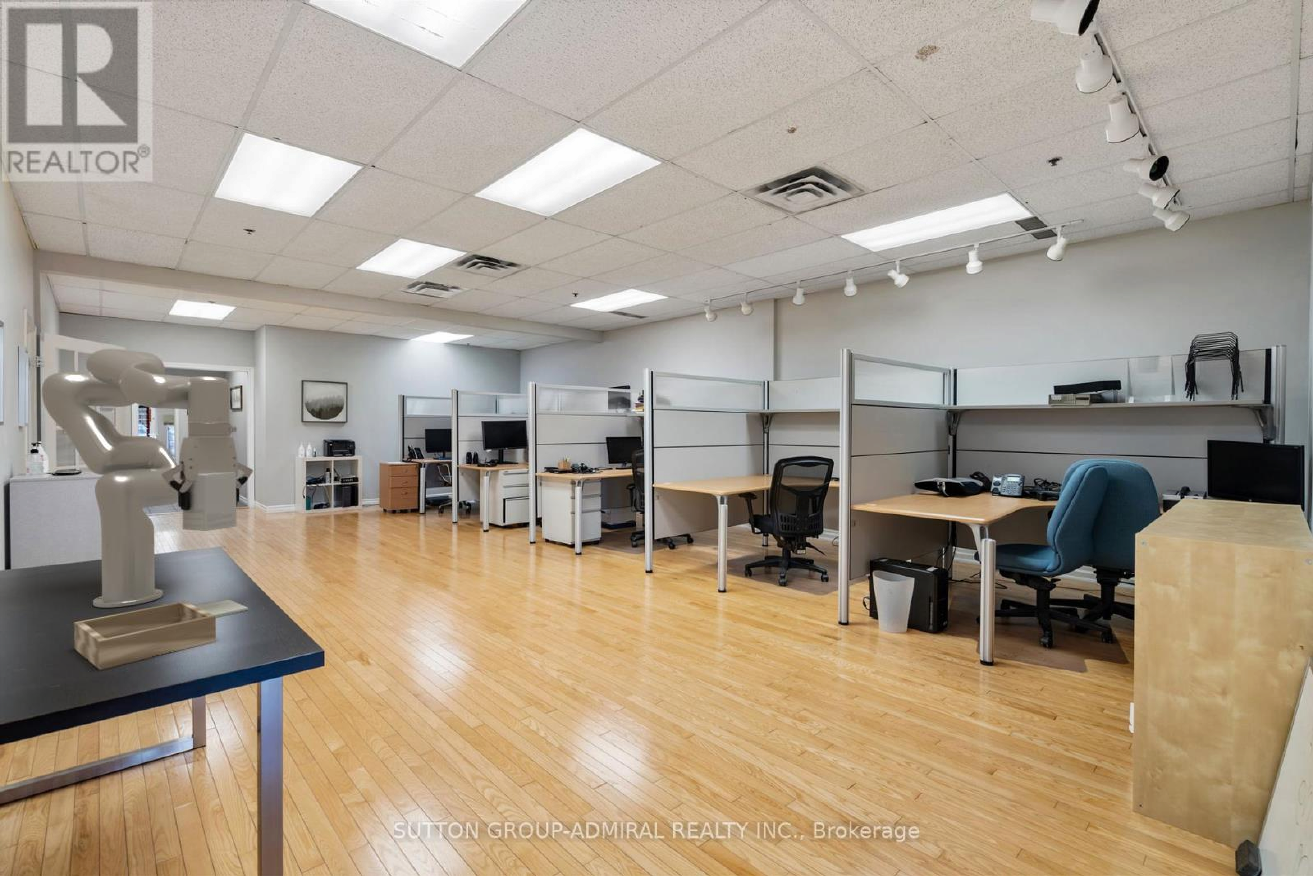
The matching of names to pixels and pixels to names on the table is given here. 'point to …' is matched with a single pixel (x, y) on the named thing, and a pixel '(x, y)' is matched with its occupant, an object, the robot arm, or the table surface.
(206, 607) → the mat
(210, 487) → the supplement box
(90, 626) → the crate
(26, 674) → the table surface
